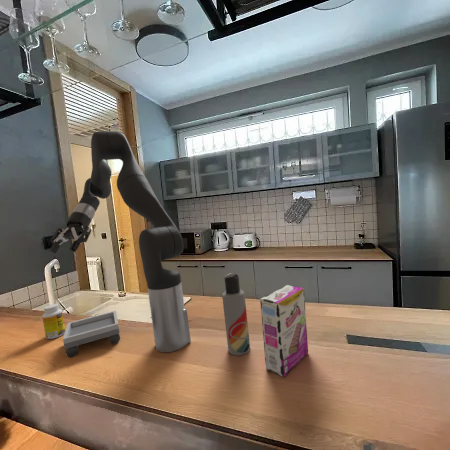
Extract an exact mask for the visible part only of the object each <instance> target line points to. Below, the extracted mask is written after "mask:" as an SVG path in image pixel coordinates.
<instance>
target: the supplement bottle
mask: <svg viewBox="0 0 450 450" xmlns="http://www.w3.org/2000/svg"><path fill="white" fill-rule="evenodd" d="M43 310H44V311H43V312H44V313H43V314H42V315H41V316H42V322H43V328H44V332H45V333H44V335H45V338H46V339H48V340H53V339H57V338H59V337H61V336H64V334H65V331H66V327H65V320H64V314H63V313H64V312H63V309H62V308H60V307H59V304H58V303H51V304H49V305H46V306H44V307H43Z"/></svg>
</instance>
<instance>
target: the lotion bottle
mask: <svg viewBox="0 0 450 450" xmlns="http://www.w3.org/2000/svg"><path fill="white" fill-rule="evenodd" d="M223 280H224V292H223V293H222V294H221V296H222V298H221V299H222V306H223V314H224V325H225V332H226V333H225V335H226V342H227V349H228V350H227V351H228V352H229V354H231V355H233V356H243V355H246V354H248V353H249V352H250V349H251V344H250V343H251V341H250V335H249V325H248V314H247V306H246V296H245V295H246V294H245V291H244V290H243V289H241V285H240V284H241V283H240V276H239V274H238V273H237V272H229V273H227V274H226V275H225V276H223Z"/></svg>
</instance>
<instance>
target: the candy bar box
mask: <svg viewBox="0 0 450 450" xmlns="http://www.w3.org/2000/svg"><path fill="white" fill-rule="evenodd" d="M305 300H306V299H305V288H304V287H299V286H295V285H289V284H286V285H285V286H283V287H281V288H278V289H277V290H275V291H274V292H271V293H269V294H267V295H265V296H263V297H261V298H260V299H259V301H260V313H261V324H262V325H261V326H262V335H263V337H262V338H263V347H264V348H263V350H264V360H265V361H264V363H265V369H266V370H268V371H270V372H272V373H274V374H276V375H277V376H280V377H283V378H285V376H286V375H287V374H288V373H289V372H290V371H291V370H292V369H293V368H294V367H296V365H297V364H298V363H299V362H301V361H302V360H303V358H304V357H306V356H307V354H309V345H308V332H307V331H308V330H307V329H308V328H307V318H306V317H307V316H306V315H307V314H306V301H305Z"/></svg>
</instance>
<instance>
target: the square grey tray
mask: <svg viewBox="0 0 450 450" xmlns="http://www.w3.org/2000/svg"><path fill="white" fill-rule="evenodd" d="M119 327H120V326H119V322H118V314H117V311H116V310H113V311H109V312H106V313H102V314H97V315H93V316H90V317H85V318H82V319H78V320H74V321H71V322H67V325H66V327H65V333H64V334H63V338H62V340H63V348H64V350H66V351H65V356H66V357H68V358H73V357H76V356H77V354H79V353H78V352H79V348H80V347H79V346H81V345H84V344H87V343H91V342H94V341H98V340H100V339H104V338H108V341H109V343H110V344H111V345H115V344H118V343H119V342H120V340H121V334H120V328H119Z"/></svg>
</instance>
